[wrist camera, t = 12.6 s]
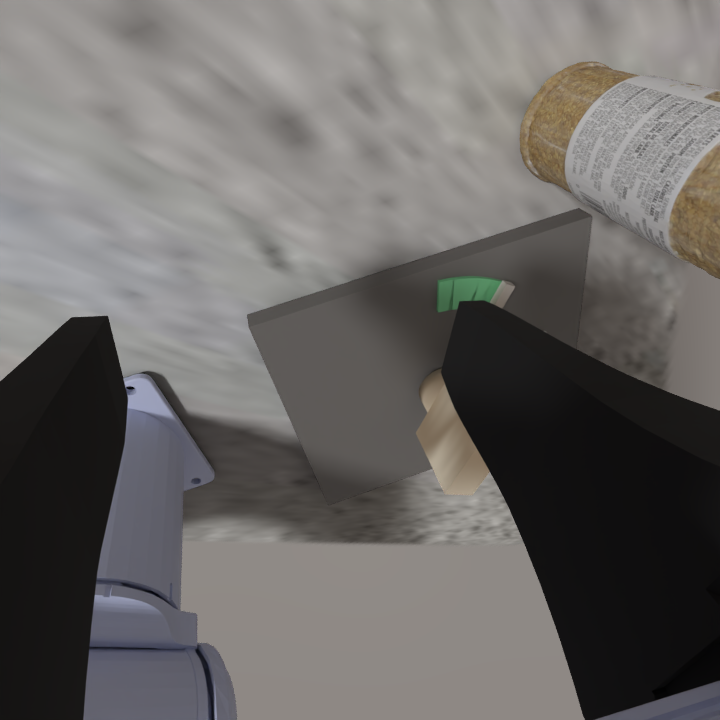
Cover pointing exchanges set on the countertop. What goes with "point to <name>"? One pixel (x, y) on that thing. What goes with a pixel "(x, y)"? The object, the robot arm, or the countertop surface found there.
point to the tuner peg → (452, 430)
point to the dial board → (405, 344)
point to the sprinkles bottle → (633, 154)
